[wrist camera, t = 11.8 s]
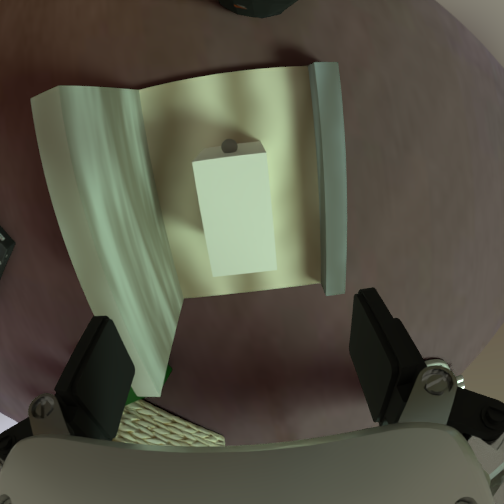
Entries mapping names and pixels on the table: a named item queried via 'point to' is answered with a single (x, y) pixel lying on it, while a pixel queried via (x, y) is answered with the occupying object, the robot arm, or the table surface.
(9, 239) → the disk drive
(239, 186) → the mini cabinet
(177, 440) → the storage basket
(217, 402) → the table surface
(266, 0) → the portable speaker
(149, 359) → the curved railed panel
